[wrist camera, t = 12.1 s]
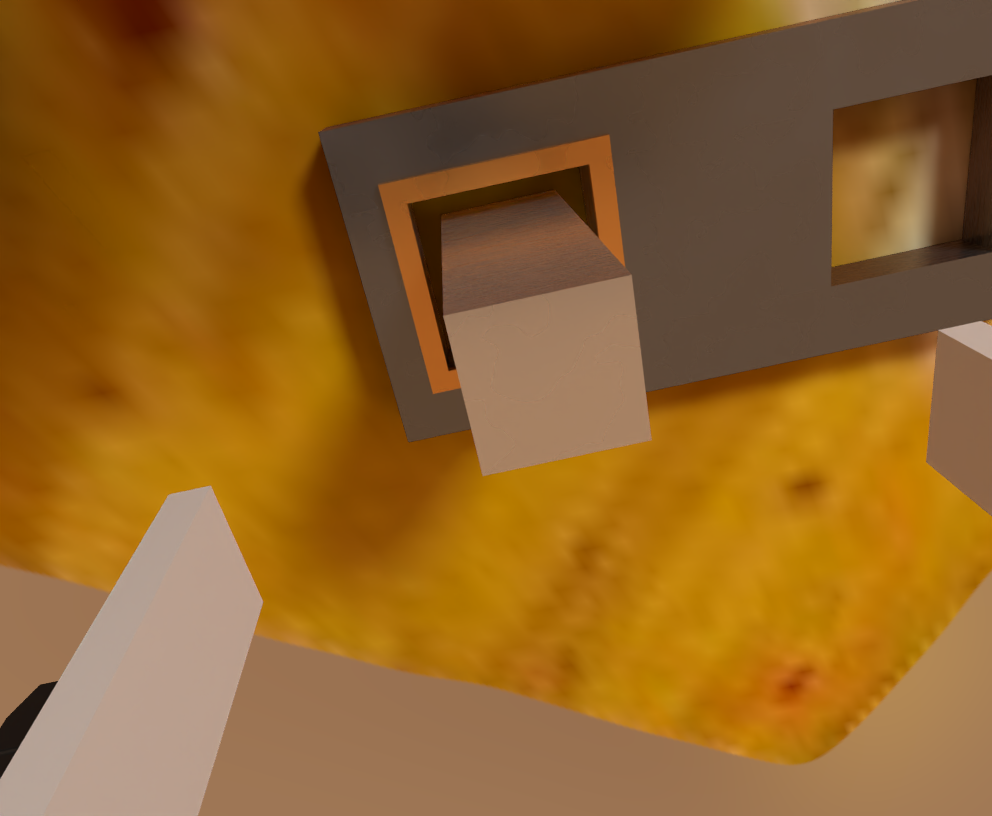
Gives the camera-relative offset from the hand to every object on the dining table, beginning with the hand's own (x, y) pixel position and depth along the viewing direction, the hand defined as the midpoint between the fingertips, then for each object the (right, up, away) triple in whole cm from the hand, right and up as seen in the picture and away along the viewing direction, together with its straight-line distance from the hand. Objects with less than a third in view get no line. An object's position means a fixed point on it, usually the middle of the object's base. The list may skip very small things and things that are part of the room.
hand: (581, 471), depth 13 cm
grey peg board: (+6, +9, +15) cm, 18 cm away
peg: (-1, +7, +15) cm, 17 cm away
